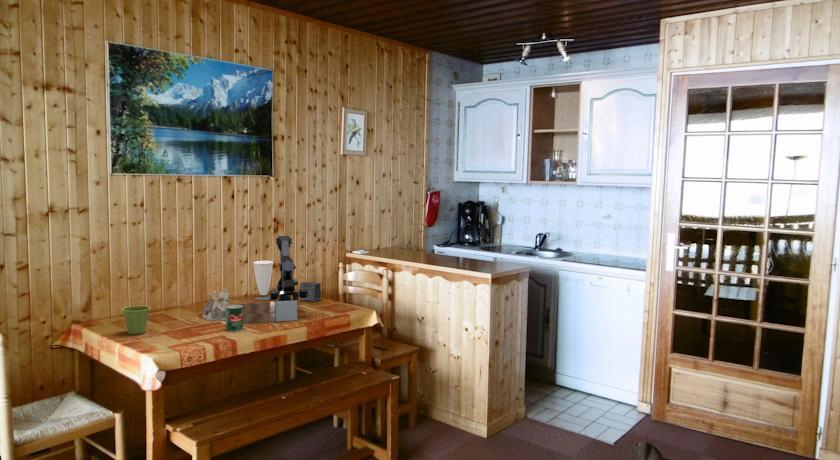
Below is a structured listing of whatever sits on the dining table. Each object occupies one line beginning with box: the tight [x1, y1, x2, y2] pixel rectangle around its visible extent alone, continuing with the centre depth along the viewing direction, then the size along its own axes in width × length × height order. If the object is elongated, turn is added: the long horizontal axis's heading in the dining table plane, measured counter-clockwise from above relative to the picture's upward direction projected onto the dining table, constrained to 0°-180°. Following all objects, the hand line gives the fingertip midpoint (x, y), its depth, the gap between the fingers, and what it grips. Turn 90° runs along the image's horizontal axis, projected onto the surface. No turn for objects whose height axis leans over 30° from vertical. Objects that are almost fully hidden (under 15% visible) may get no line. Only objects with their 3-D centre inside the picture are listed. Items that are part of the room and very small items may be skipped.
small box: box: [299, 281, 322, 303], centre depth 348 cm, size 11×6×10 cm, turn 65°
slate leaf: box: [269, 300, 298, 322], centre depth 297 cm, size 13×2×10 cm, turn 111°
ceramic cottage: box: [202, 287, 231, 322], centre depth 303 cm, size 16×16×15 cm
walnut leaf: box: [238, 301, 276, 325], centre depth 293 cm, size 17×2×10 cm, turn 106°
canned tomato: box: [225, 304, 244, 332], centre depth 280 cm, size 8×8×11 cm
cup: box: [253, 260, 274, 301], centre depth 352 cm, size 12×12×22 cm
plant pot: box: [121, 305, 151, 335], centre depth 271 cm, size 12×12×11 cm
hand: (290, 308), depth 298 cm, fingers open, 2 cm apart
